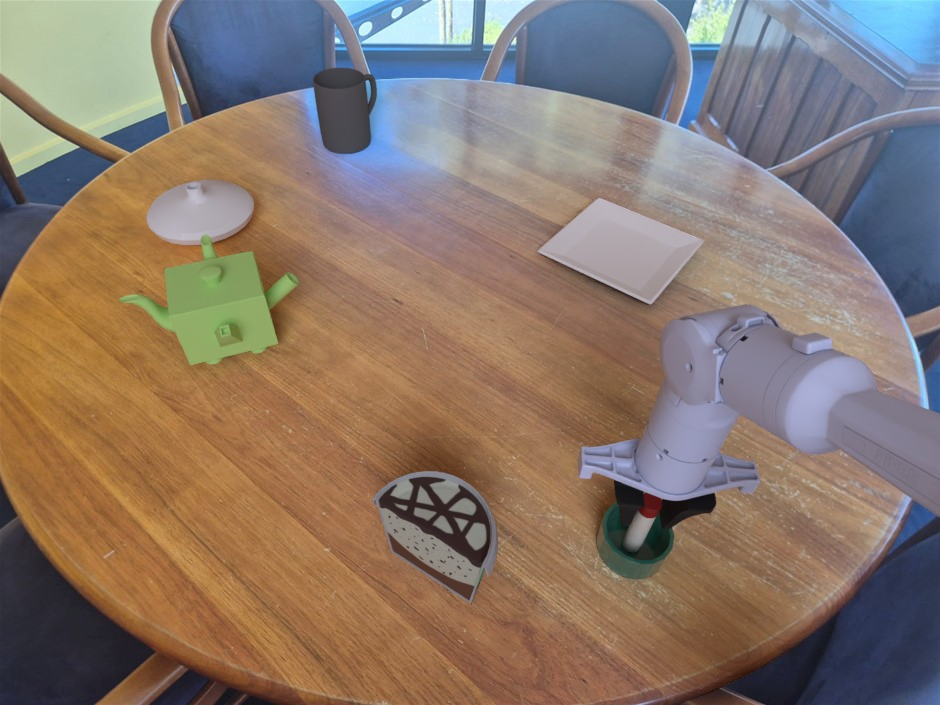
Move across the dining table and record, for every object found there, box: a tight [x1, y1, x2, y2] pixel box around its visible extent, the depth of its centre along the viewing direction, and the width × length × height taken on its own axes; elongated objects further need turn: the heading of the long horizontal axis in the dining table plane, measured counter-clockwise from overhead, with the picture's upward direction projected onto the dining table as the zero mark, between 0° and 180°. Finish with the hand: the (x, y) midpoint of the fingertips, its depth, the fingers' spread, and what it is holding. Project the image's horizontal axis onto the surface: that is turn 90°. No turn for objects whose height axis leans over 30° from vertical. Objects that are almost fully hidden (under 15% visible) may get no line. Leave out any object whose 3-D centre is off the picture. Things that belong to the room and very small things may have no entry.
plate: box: [537, 197, 705, 306], centre depth 94 cm, size 19×19×2 cm
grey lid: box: [145, 179, 255, 246], centre depth 95 cm, size 16×16×7 cm
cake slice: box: [371, 470, 499, 605], centre depth 58 cm, size 12×6×10 cm, turn 58°
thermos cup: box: [596, 501, 676, 580], centre depth 61 cm, size 7×7×4 cm
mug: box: [312, 67, 378, 155], centre depth 113 cm, size 14×9×12 cm
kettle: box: [118, 235, 300, 366], centre depth 77 cm, size 15×14×11 cm
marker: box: [623, 492, 662, 552], centre depth 59 cm, size 2×2×8 cm
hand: (643, 517), depth 58 cm, fingers open, 3 cm apart
